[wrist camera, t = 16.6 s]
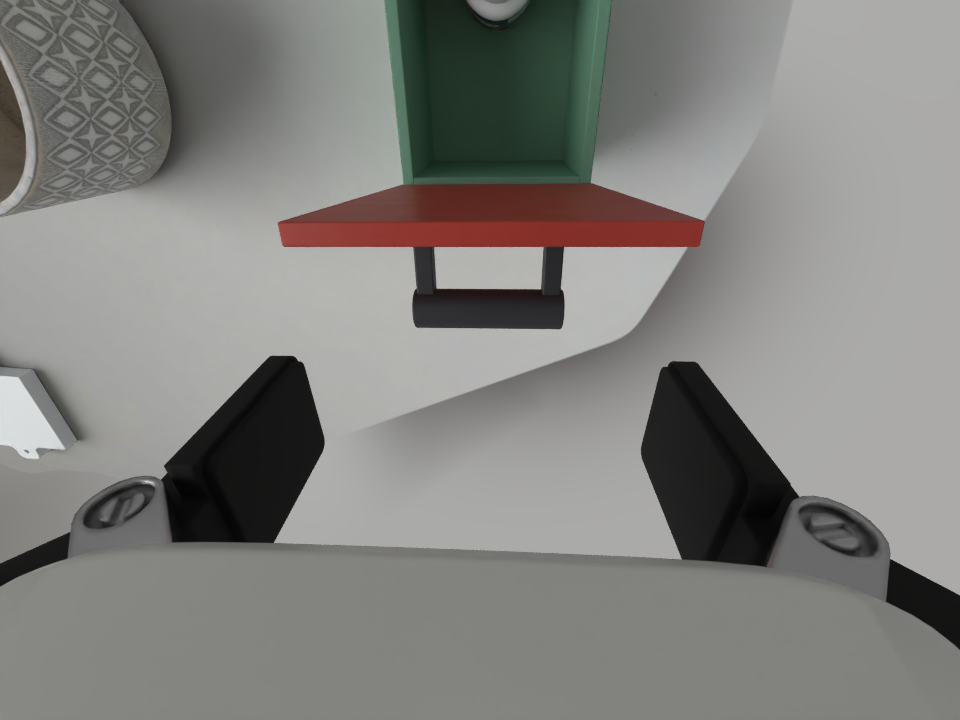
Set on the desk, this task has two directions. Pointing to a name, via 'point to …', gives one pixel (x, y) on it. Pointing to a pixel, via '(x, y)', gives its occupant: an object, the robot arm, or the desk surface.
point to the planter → (76, 103)
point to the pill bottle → (497, 13)
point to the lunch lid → (492, 239)
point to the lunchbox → (497, 92)
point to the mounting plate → (30, 415)
